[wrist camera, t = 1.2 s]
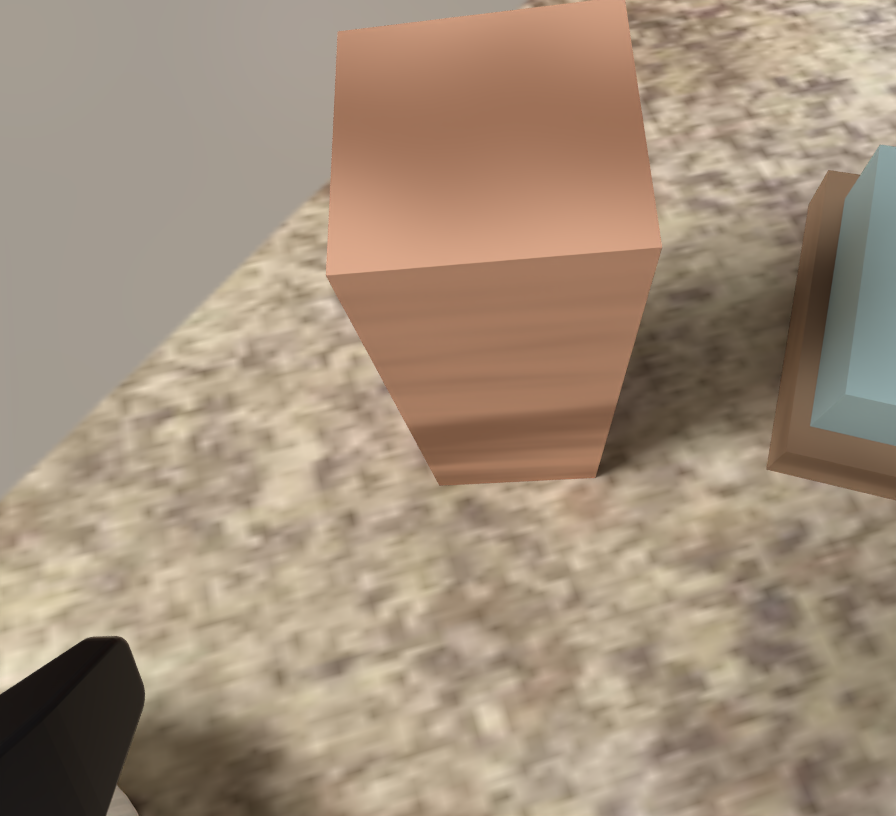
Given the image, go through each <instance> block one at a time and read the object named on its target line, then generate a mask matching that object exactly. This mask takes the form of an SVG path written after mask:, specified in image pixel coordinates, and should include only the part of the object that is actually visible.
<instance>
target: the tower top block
mask: <svg viewBox="0 0 896 816" xmlns="http://www.w3.org/2000/svg"><path fill="white" fill-rule="evenodd" d="M810 426H811V427H816V428H820V429H824V430H829V431H833V432H837V433H842V434H846V435H850V436H855V437H859V438H863V439H868V440H872V441H876V442H881V443H885V444H889V445H893V446H896V147H893V146H886V145H880V146H879V147H878V149H877V150H876V152H875V153H874V155H873V156H872V158H871V159H870V161H869V162H868V164H867V166H866V167H865V169H864V170H863V172H862V173H861V175H860V176H859V178H858V179H857V181H856V183H855V184H854V186H853V187H852V189H851V190H850V192H849V193H848V195H847V196H846V198H845V201H844V208H843V214H842V221H841V227H840V234H839V240H838V247H837V253H836V260H835V266H834V273H833V280H832V286H831V293H830V299H829V306H828V312H827V319H826V325H825V332H824V338H823V345H822V351H821V358H820V364H819V371H818V377H817V384H816V390H815V397H814V403H813V410H812V416H811V423H810Z"/></svg>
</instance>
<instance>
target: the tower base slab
mask: <svg viewBox="0 0 896 816" xmlns="http://www.w3.org/2000/svg"><path fill="white" fill-rule="evenodd" d="M859 176H860V175H858V174H851V173H844V172H837V171H831V170H828V172H827V174H826V175H825V177H824V179H823V181H822V182H821V184H820V186H819V188H818V189H817V191H816V193H815V195H814V196H813V198H812V200H811V202H810V203H809V206H808V213H807V219H806V225H805V231H804V238H803V244H802V250H801V256H800V263H799V269H798V275H797V281H796V288H795V294H794V300H793V306H792V313H791V319H790V325H789V331H788V338H787V344H786V350H785V356H784V363H783V369H782V375H781V381H780V388H779V394H778V400H777V406H776V413H775V419H774V425H773V431H772V438H771V444H770V450H769V456H768V463H767V470H771V471H775V472H780V473H784V474H788V475H792V476H796V477H801V478H805V479H809V480H813V481H817V482H822V483H826V484H830V485H834V486H838V487H843V488H847V489H851V490H855V491H859V492H864V493H868V494H872V495H876V496H880V497H885V498H889V499H893V500H896V446H893V445H889V444H885V443H881V442H876V441H872V440H868V439H863V438H859V437H855V436H850V435H846V434H842V433H837V432H833V431H829V430H824V429H820V428H816V427H811V426H810V423H811V416H812V410H813V403H814V397H815V390H816V384H817V377H818V371H819V364H820V358H821V351H822V345H823V338H824V332H825V325H826V319H827V312H828V306H829V299H830V293H831V286H832V280H833V273H834V266H835V260H836V253H837V247H838V240H839V234H840V227H841V221H842V214H843V208H844V201H845V198H846V196H847V195H848V193H849V192H850V190H851V189H852V187H853V186H854V184H855V183H856V181H857V179H858V178H859Z"/></svg>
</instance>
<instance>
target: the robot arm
mask: <svg viewBox="0 0 896 816" xmlns="http://www.w3.org/2000/svg"><path fill="white" fill-rule="evenodd" d="M144 701H145V690H144V685H143V682H142V679H141V676H140V674H139V671H138V668H137V666H136V663H135V660H134V658H133V655H132V652H131V649H130V647H129V645H128V643H127V641H126V640H125V639H123V638H122V637H119V636H102V637H90V638H87V639H84V640H83V641H81V642H79V643H78V644H76V645H75V646H73V647H72V648H70V649H69V650H67V651H66V652H64V653H63V654H61V655H60V656H58V657H57V658H55V659H54V660H52V661H51V662H49V663H47V664H46V665H44V666H43V667H41V668H40V669H38V670H37V671H35V672H34V673H32V674H31V675H29V676H28V677H26V678H25V679H23V680H22V681H20V682H19V683H17V684H16V685H14V686H12V687H11V688H9V689H8V690H6V691H5V692H3V693H2V694H0V816H106V815H107V812H108V809H109V806H110V803H111V801H112V798H113V795H114V792H115V789H116V786H117V783H118V780H119V777H120V774H121V771H122V769H123V766H124V763H125V760H126V757H127V754H128V751H129V748H130V745H131V742H132V739H133V736H134V734H135V731H136V728H137V725H138V722H139V719H140V716H141V713H142V710H143V706H144Z"/></svg>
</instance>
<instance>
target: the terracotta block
mask: <svg viewBox="0 0 896 816" xmlns="http://www.w3.org/2000/svg"><path fill="white" fill-rule="evenodd" d="M335 81H336V82H335V101H334V121H333V143H332V163H331V164H332V165H331V183H330V203H329V224H328V245H327V265H326V276H327V278H328V280H329V282H330V284H331V286H332V288H333V289H334V291H335V293H336V295H337V297H338V299H339V301H340V302H341V304H342V306H343V308H344V310H345V312H346V313H347V315H348V317H349V319H350V321H351V323H352V325H353V326H354V328H355V330H356V332H357V334H358V336H359V338H360V339H361V341H362V343H363V345H364V347H365V349H366V350H367V352H368V354H369V356H370V358H371V360H372V362H373V363H374V365H375V367H376V369H377V371H378V373H379V375H380V376H381V378H382V380H383V382H384V384H385V386H386V388H387V389H388V391H389V393H390V395H391V397H392V399H393V400H394V402H395V404H396V406H397V408H398V410H399V412H400V413H401V415H402V417H403V419H404V421H405V423H406V425H407V426H408V428H409V430H410V432H411V434H412V436H413V437H414V439H415V441H416V443H417V445H418V447H419V449H420V450H421V452H422V454H423V456H424V458H425V460H426V462H427V463H428V465H429V467H430V469H431V471H432V473H433V474H434V476H435V478H436V480H437V482H438V484H439V486H440V485H460V484H480V483H500V482H520V481H540V480H559V479H579V478H596V474H597V471H598V467H599V464H600V460H601V457H602V453H603V450H604V446H605V443H606V440H607V436H608V433H609V429H610V426H611V422H612V419H613V415H614V412H615V408H616V405H617V401H618V398H619V395H620V391H621V388H622V384H623V381H624V377H625V374H626V370H627V367H628V363H629V360H630V356H631V353H632V350H633V346H634V343H635V339H636V336H637V332H638V329H639V325H640V322H641V318H642V315H643V311H644V308H645V305H646V301H647V298H648V294H649V291H650V287H651V284H652V280H653V277H654V273H655V270H656V266H657V263H658V260H659V256H660V253H661V249H662V244H661V237H660V231H659V224H658V217H657V211H656V204H655V197H654V191H653V184H652V177H651V171H650V164H649V157H648V151H647V144H646V137H645V131H644V124H643V117H642V111H641V104H640V97H639V91H638V84H637V77H636V71H635V64H634V58H633V51H632V44H631V38H630V31H629V24H628V18H627V11H626V4H625V0H592V1H584V2H576V3H568V4H560V5H551V6H543V7H535V8H527V9H519V10H510V11H502V12H495V13H486V14H478V15H470V16H462V17H453V18H445V19H438V20H429V21H420V22H412V23H404V24H396V25H388V26H380V27H372V28H363V29H355V30H347V31H339V32H338V39H337V60H336V79H335Z"/></svg>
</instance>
